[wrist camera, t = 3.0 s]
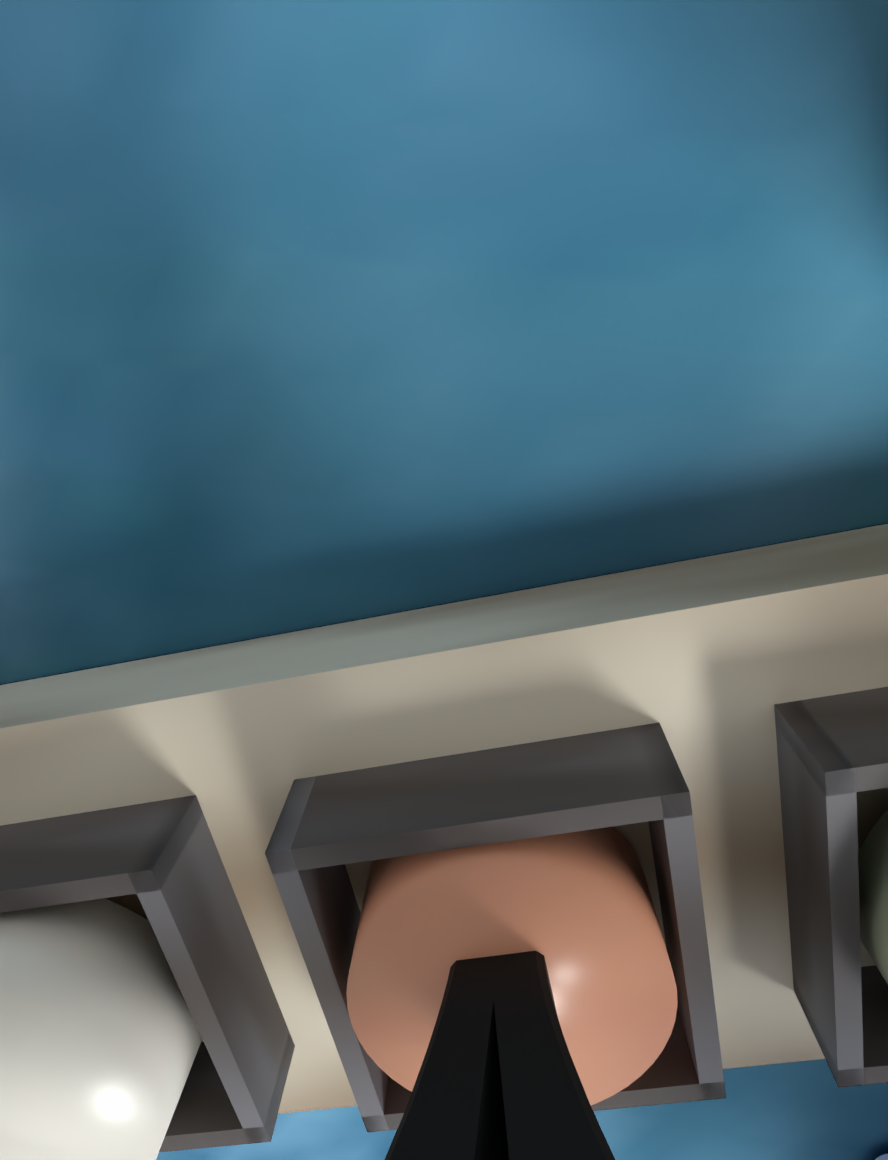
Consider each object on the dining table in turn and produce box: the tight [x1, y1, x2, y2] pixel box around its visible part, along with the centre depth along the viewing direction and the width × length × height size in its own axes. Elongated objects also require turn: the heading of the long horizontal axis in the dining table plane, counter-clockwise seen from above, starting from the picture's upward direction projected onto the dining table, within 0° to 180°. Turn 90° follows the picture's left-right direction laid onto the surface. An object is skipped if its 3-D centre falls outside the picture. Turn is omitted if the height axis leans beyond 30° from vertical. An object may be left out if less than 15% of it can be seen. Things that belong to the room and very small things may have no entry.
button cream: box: [0, 898, 202, 1160], centre depth 12 cm, size 5×5×2 cm
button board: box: [0, 524, 888, 1152], centre depth 13 cm, size 10×25×4 cm, turn 102°
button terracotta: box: [346, 826, 678, 1105], centre depth 12 cm, size 5×5×2 cm
